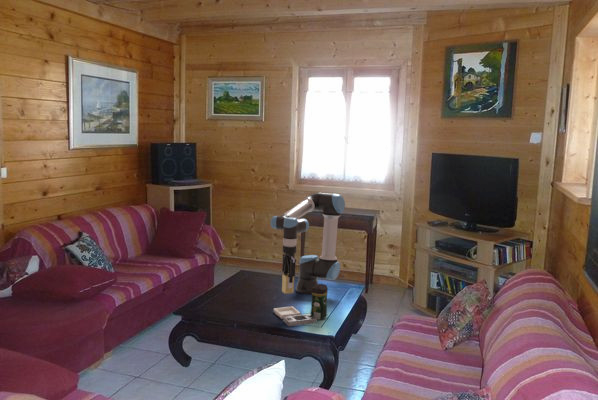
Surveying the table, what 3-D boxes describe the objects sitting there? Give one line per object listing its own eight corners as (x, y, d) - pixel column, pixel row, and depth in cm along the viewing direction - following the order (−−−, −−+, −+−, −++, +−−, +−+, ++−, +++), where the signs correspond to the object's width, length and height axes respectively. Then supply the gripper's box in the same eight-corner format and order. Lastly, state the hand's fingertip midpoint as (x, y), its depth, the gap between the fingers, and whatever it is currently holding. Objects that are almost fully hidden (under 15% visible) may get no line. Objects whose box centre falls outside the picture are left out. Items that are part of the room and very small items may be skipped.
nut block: (290, 290, 292) (290, 272, 291) (293, 293, 287) (294, 275, 286) (281, 291, 290) (282, 273, 289) (285, 293, 285) (285, 275, 284)
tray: (292, 310, 298) (292, 306, 298) (300, 316, 287) (300, 312, 287) (273, 312, 293) (273, 308, 293) (281, 319, 283) (281, 315, 282)
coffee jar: (315, 313, 293) (316, 281, 291) (328, 316, 290) (329, 284, 288) (308, 318, 285) (309, 286, 282) (321, 321, 281) (323, 288, 279)
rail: (309, 317, 286) (310, 313, 286) (316, 322, 279) (316, 318, 279) (283, 321, 280) (283, 316, 279) (288, 326, 272) (289, 321, 272)
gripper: (277, 242, 292) (275, 282, 295) (289, 249, 276) (288, 291, 278) (289, 241, 295) (287, 281, 298) (302, 248, 279) (300, 290, 282)
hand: (287, 286), depth 288 cm, fingers closed on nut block, 5 cm apart
